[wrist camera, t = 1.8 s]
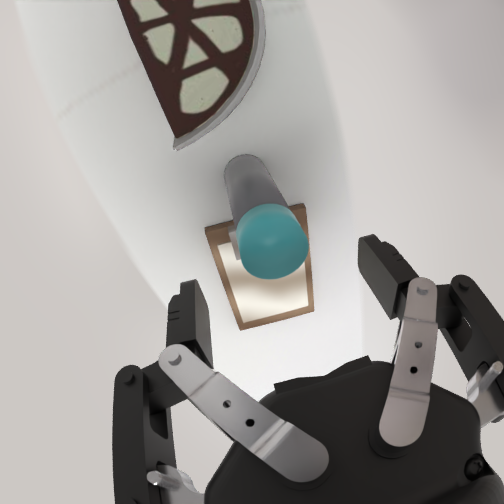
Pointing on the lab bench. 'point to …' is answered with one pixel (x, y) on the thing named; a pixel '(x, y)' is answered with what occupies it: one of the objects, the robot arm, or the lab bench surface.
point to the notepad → (260, 280)
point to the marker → (263, 221)
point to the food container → (197, 57)
